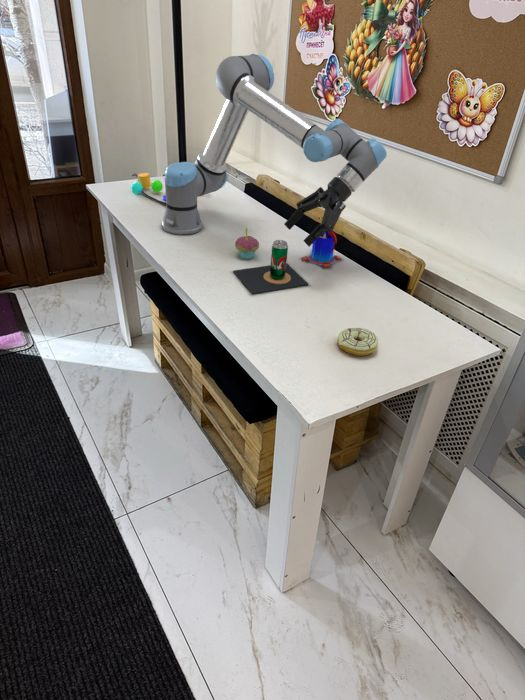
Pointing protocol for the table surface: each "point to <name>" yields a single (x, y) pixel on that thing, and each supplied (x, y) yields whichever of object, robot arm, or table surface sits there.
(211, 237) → the table surface
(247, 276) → the mat
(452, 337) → the table surface
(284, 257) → the soda can
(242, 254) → the cupcake
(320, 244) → the fantasy tower
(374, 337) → the decorated donut
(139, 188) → the shape set
